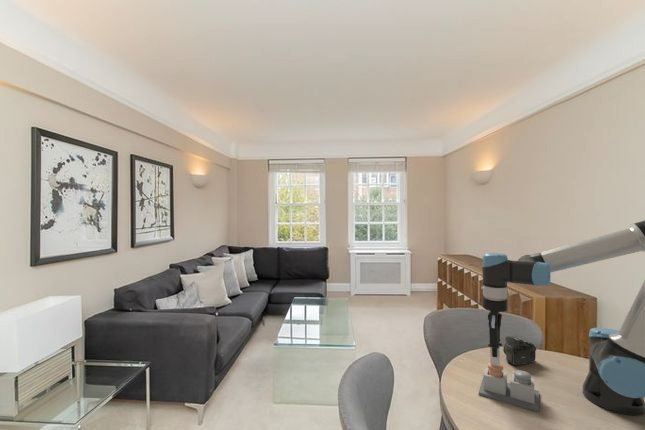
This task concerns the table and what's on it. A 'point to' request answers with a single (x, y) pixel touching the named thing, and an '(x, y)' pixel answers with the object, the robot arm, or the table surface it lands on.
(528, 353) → the camera
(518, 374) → the plug grey
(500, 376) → the plug terracotta
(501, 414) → the table surface
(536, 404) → the panel
